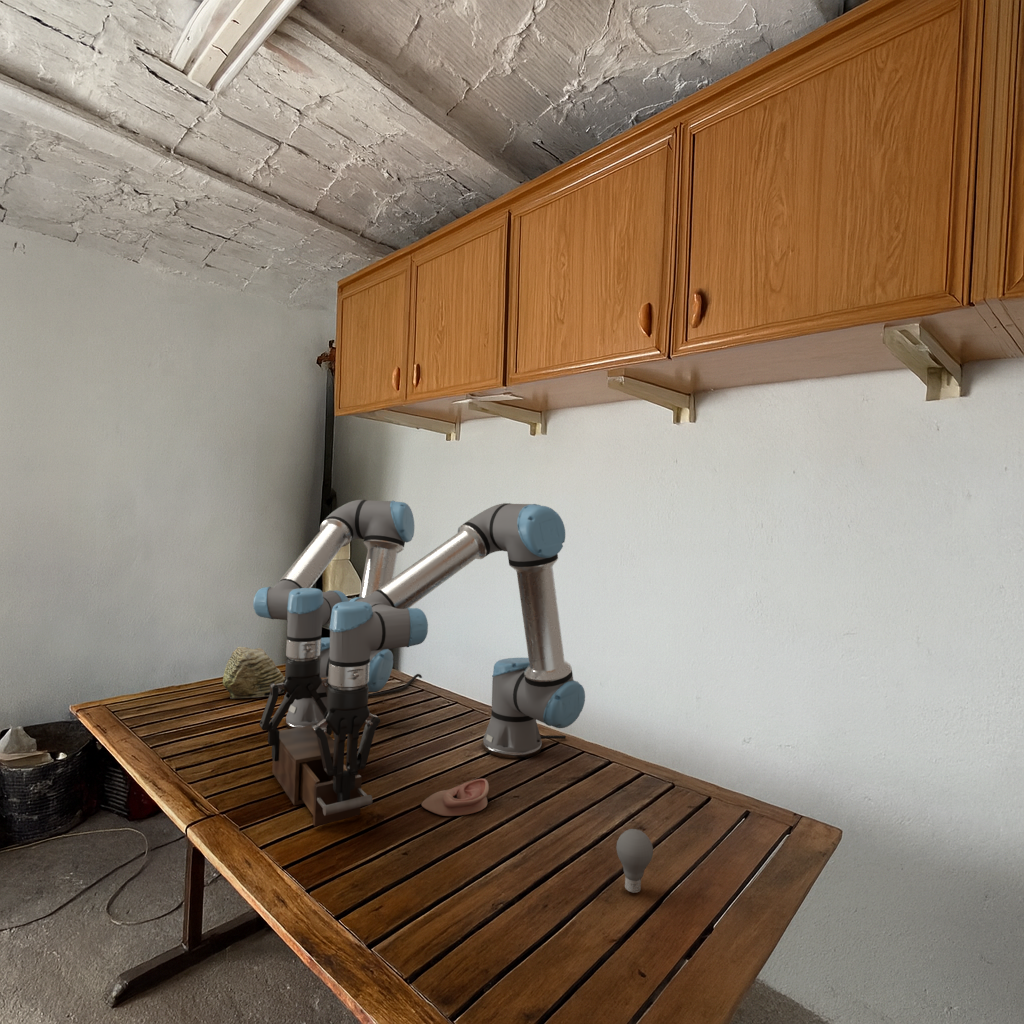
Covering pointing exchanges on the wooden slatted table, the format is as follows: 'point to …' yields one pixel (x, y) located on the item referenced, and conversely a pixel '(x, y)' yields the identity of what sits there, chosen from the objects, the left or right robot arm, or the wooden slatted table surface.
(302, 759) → the cabinet
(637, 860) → the light bulb
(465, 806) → the anatomical model
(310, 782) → the drawer
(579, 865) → the wooden slatted table surface
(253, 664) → the fossil
